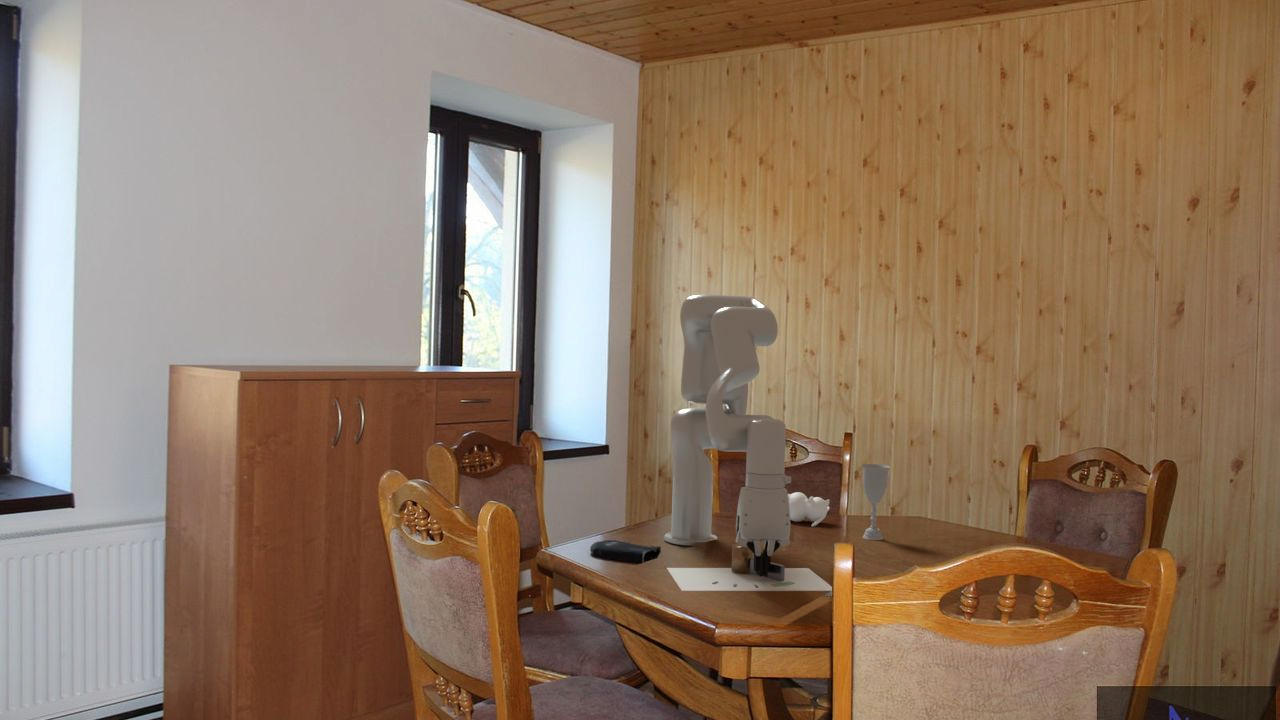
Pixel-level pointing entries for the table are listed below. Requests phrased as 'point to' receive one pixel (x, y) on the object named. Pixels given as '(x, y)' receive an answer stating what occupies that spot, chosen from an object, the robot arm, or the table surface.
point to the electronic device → (624, 551)
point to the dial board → (747, 580)
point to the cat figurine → (807, 508)
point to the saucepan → (752, 563)
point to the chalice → (874, 493)
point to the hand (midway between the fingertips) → (761, 574)
